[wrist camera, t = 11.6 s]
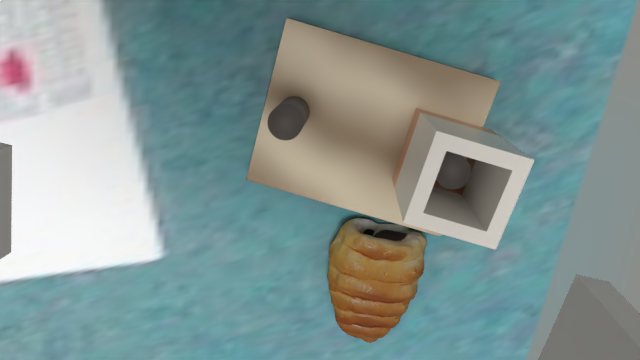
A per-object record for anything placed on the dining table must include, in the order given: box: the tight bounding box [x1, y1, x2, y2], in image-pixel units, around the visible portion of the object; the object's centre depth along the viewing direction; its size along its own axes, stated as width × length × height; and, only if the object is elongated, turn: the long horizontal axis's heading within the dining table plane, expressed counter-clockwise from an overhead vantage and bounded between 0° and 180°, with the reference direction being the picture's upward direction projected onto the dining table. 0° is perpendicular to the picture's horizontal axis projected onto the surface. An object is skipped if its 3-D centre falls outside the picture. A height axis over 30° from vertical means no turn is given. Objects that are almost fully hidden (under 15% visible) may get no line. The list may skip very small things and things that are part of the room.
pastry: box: [327, 218, 427, 343], centre depth 35 cm, size 9×7×4 cm
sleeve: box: [392, 108, 534, 250], centre depth 28 cm, size 5×5×8 cm
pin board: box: [246, 18, 501, 236], centre depth 30 cm, size 11×14×6 cm
